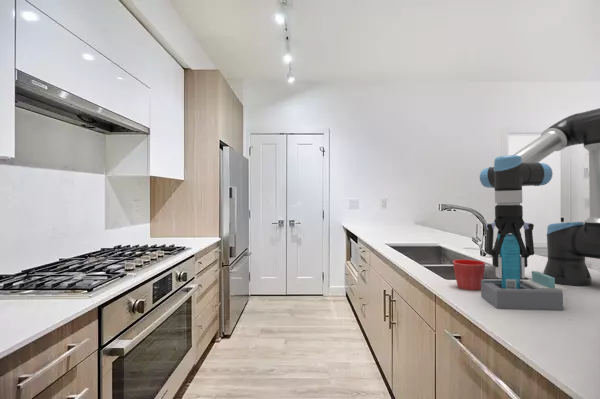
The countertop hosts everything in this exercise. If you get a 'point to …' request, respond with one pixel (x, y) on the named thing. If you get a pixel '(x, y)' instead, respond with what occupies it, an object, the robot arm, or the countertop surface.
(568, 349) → the countertop surface
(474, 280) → the flower pot
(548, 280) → the panel
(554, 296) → the socket
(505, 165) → the robot arm
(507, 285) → the tube
